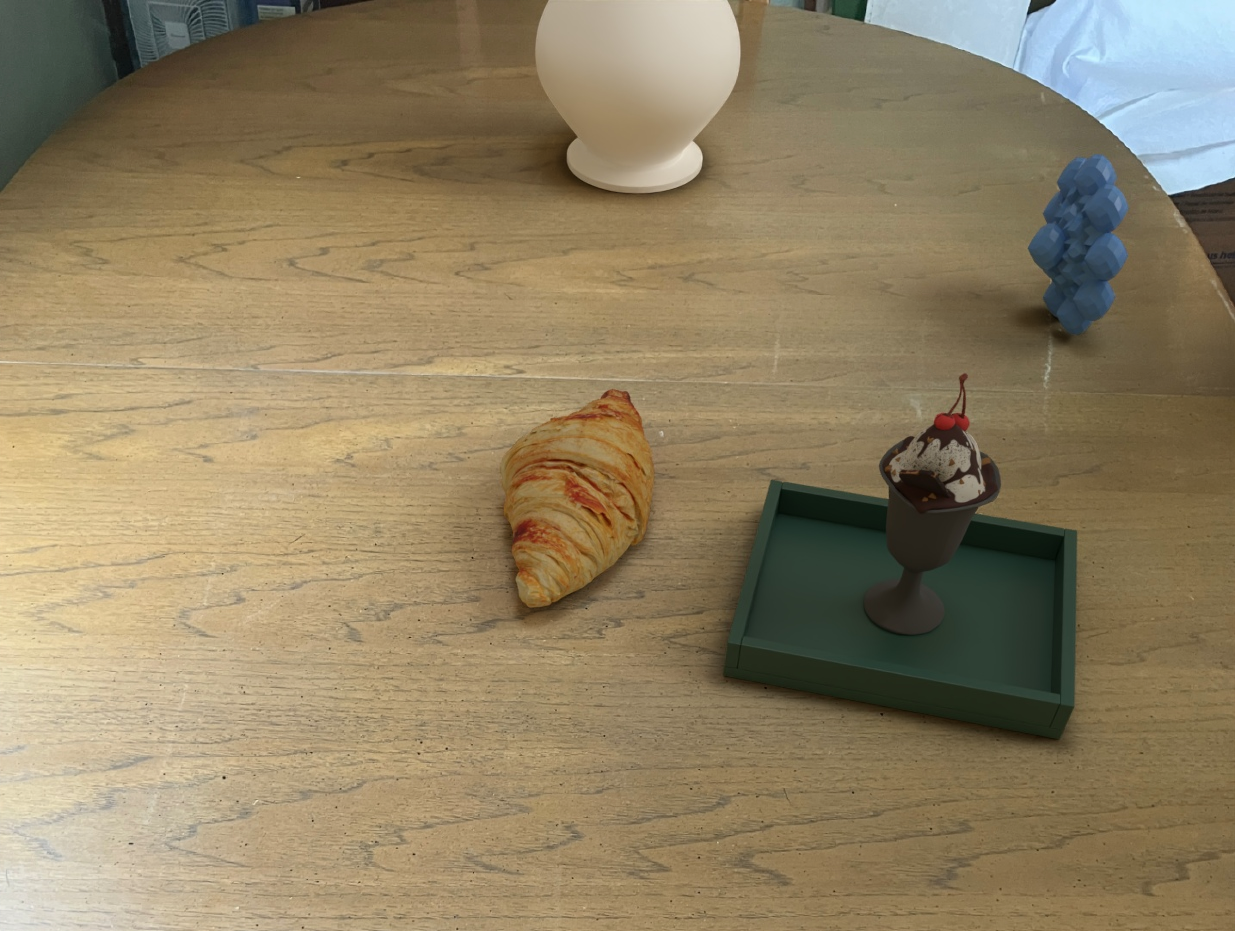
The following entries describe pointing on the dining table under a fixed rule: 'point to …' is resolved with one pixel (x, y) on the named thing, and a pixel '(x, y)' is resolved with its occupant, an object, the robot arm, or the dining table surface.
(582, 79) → the decorative vase
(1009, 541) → the tray
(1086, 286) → the grapes
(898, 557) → the sundae
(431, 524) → the dining table surface
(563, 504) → the croissant
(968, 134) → the dining table surface
